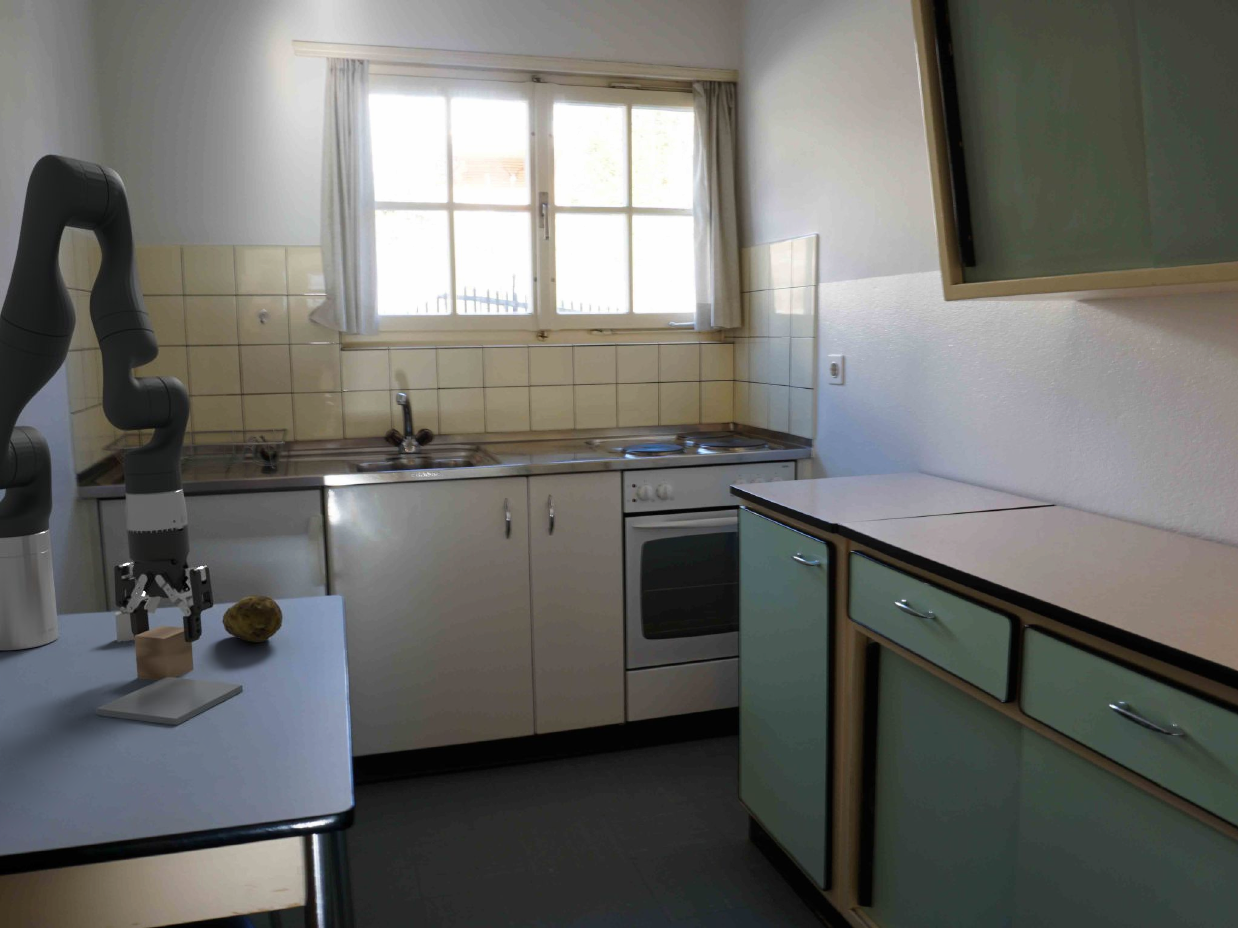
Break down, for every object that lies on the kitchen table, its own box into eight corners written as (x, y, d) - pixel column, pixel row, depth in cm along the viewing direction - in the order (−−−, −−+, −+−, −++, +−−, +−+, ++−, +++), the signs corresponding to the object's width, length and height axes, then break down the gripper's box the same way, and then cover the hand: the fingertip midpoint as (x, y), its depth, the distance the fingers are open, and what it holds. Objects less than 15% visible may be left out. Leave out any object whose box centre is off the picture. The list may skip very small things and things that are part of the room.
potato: (278, 628, 157) (276, 579, 156) (286, 651, 145) (283, 599, 144) (223, 635, 154) (219, 585, 153) (226, 659, 142) (222, 605, 141)
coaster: (96, 714, 121) (96, 708, 121) (167, 682, 132) (167, 676, 132) (176, 724, 118) (176, 718, 117) (242, 690, 129) (242, 684, 129)
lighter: (117, 642, 151) (113, 591, 150) (117, 639, 152) (113, 589, 151) (168, 635, 154) (164, 585, 153) (167, 632, 156) (164, 583, 155)
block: (137, 678, 135) (134, 635, 134) (164, 666, 139) (161, 625, 139) (167, 681, 133) (164, 638, 132) (193, 669, 138) (190, 628, 137)
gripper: (93, 527, 132) (104, 643, 134) (181, 530, 128) (191, 650, 130) (135, 517, 139) (145, 628, 141) (219, 519, 135) (228, 634, 137)
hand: (167, 638), depth 136 cm, fingers open, 8 cm apart
